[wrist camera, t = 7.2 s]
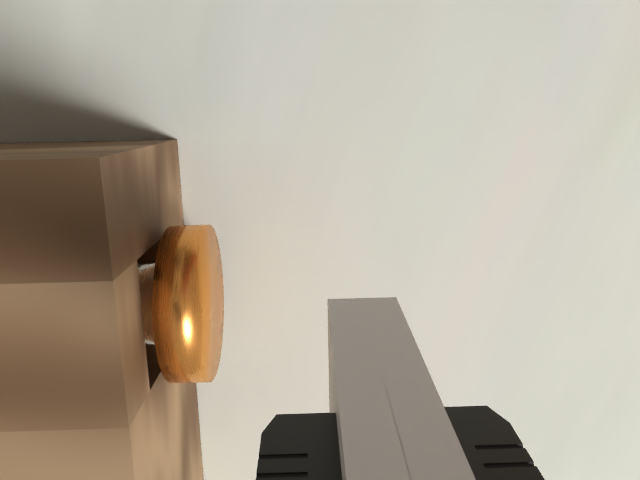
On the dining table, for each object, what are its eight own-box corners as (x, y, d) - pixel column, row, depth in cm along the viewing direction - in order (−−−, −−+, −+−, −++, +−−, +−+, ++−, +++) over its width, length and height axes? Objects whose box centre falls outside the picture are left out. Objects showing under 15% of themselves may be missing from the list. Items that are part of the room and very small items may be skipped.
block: (-96, 145, 21) (-339, 167, 13) (176, 139, 21) (99, 157, 13) (-19, 559, 25) (-168, 764, 17) (209, 551, 25) (164, 751, 17)
